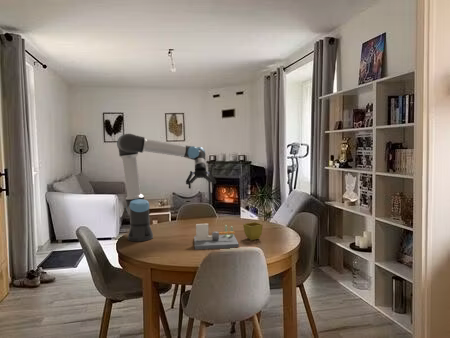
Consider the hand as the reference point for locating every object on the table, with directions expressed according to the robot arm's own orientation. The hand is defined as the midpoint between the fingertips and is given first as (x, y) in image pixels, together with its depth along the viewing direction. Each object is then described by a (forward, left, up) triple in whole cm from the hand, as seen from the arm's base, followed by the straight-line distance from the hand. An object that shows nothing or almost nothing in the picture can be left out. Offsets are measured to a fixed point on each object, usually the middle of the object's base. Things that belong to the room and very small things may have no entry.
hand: (201, 191), depth 226 cm
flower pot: (+30, -15, -28) cm, 44 cm away
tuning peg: (+7, -22, -25) cm, 34 cm away
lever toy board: (+7, -22, -27) cm, 36 cm away
